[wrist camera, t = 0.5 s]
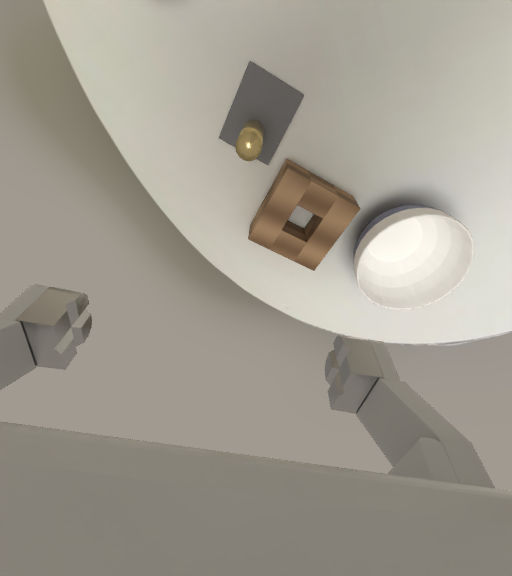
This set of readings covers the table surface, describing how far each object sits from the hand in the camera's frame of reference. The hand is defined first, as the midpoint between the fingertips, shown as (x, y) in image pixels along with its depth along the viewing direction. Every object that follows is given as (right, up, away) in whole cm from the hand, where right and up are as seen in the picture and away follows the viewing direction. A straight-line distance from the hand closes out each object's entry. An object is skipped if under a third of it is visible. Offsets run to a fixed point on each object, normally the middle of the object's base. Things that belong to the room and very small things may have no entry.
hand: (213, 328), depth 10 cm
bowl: (+24, +10, +43) cm, 50 cm away
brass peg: (+1, +23, +34) cm, 41 cm away
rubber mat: (+2, +25, +33) cm, 41 cm away
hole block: (+8, +14, +40) cm, 44 cm away
